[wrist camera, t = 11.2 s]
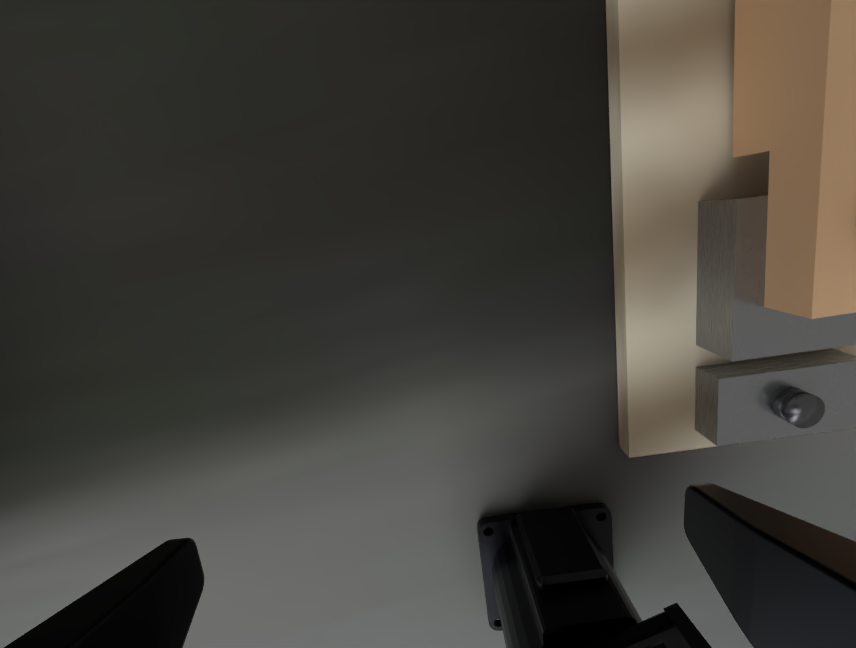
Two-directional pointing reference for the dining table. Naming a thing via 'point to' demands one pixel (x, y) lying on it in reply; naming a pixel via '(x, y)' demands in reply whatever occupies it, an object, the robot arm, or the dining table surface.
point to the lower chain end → (762, 340)
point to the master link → (802, 145)
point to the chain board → (668, 202)
